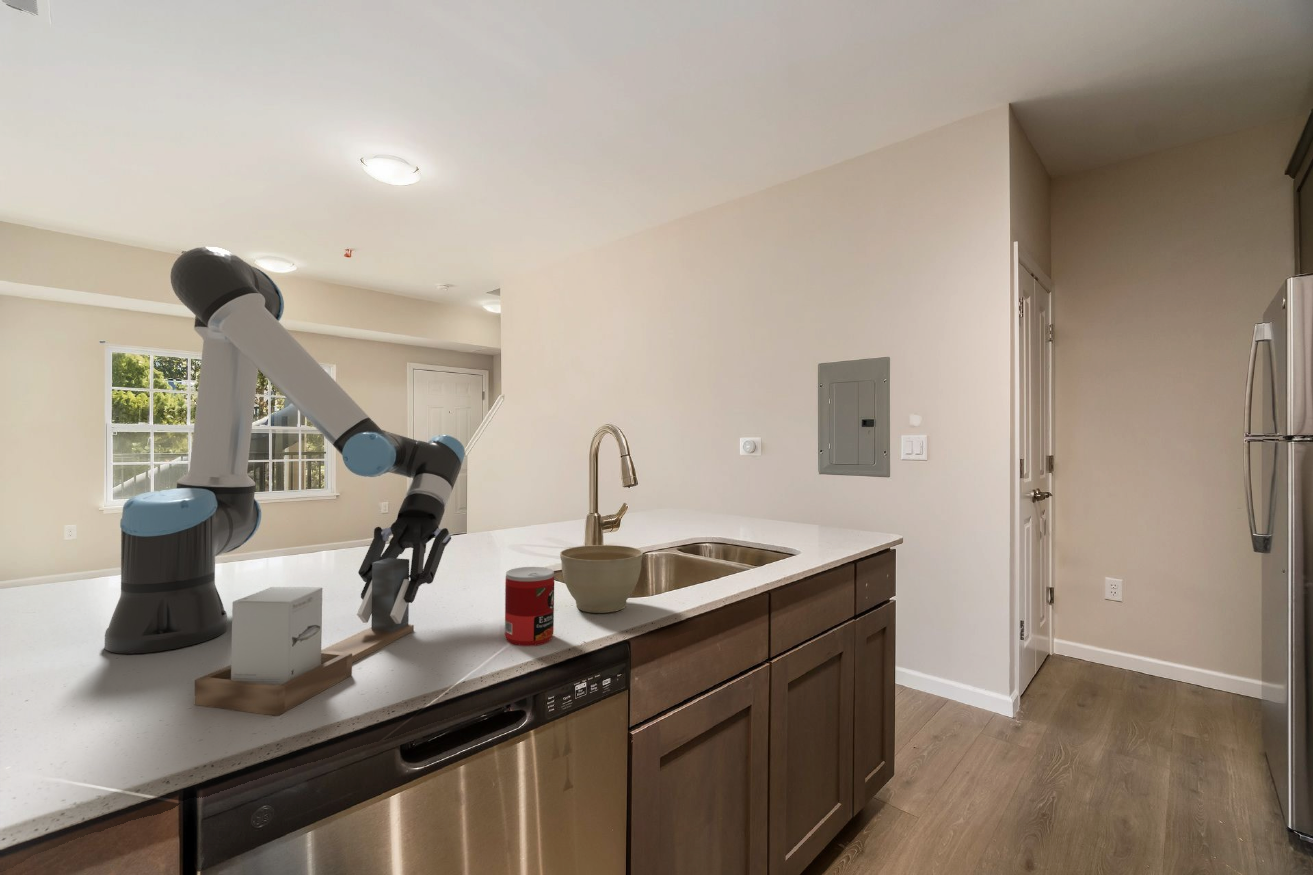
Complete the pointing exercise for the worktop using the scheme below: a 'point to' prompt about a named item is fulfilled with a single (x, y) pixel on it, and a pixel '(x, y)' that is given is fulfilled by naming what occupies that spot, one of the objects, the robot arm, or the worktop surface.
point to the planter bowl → (601, 575)
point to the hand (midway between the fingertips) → (378, 618)
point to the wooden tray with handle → (334, 658)
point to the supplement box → (276, 634)
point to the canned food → (529, 606)
